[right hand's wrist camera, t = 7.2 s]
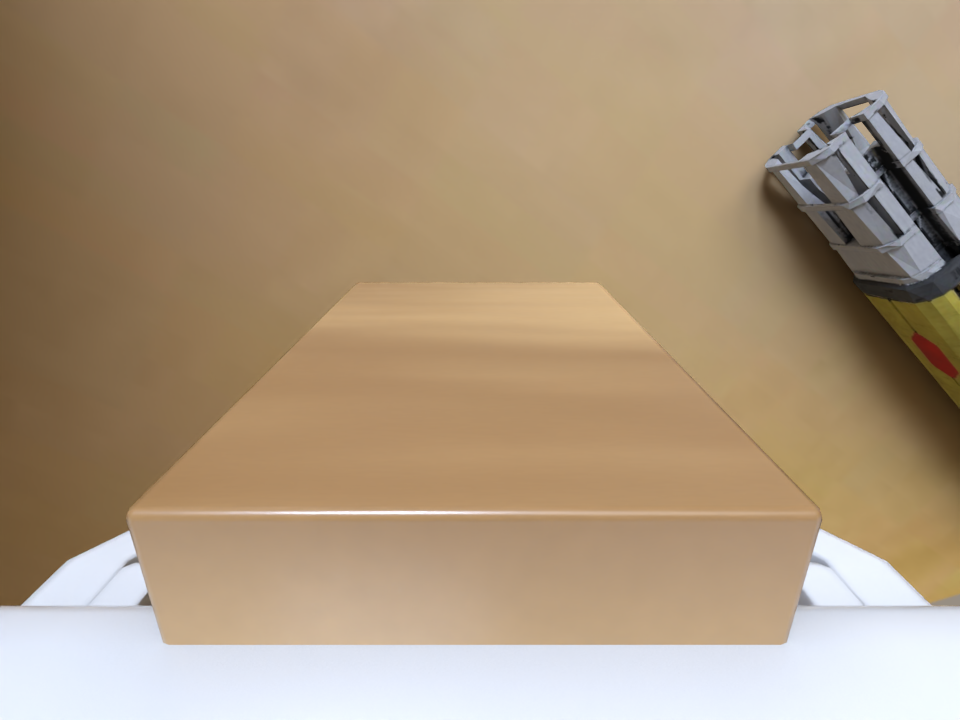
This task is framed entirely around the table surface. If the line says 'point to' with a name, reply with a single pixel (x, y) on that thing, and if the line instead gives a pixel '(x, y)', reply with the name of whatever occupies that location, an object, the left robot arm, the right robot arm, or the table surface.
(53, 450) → the table surface
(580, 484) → the bar
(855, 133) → the toy gun
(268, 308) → the table surface
